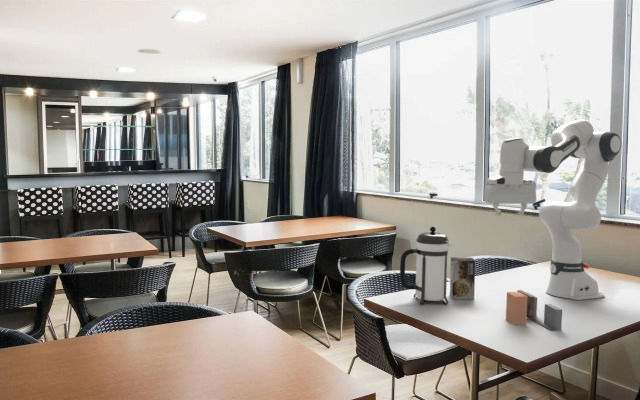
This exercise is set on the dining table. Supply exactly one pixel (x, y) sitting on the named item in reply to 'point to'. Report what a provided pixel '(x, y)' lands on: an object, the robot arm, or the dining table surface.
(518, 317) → the doorstop block
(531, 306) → the sliding door
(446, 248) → the coffee press
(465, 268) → the cookie box
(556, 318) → the door wall
